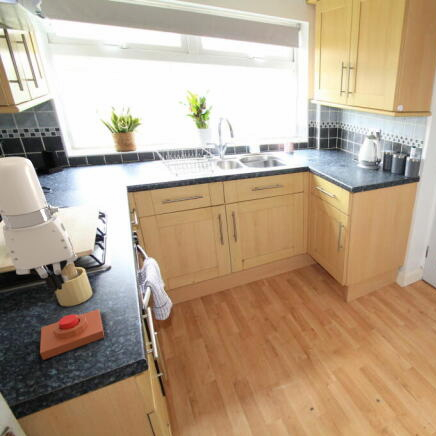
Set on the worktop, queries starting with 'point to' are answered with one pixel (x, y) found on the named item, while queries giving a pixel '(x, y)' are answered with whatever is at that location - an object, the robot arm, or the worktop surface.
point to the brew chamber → (75, 290)
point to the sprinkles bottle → (69, 272)
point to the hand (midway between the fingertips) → (57, 287)
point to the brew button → (68, 322)
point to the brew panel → (71, 335)
